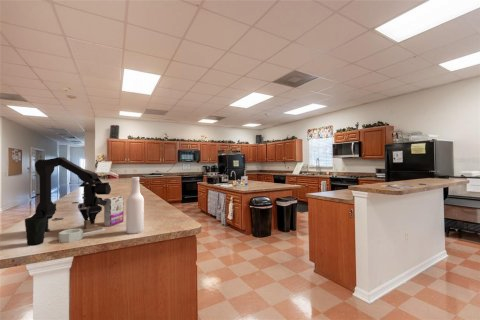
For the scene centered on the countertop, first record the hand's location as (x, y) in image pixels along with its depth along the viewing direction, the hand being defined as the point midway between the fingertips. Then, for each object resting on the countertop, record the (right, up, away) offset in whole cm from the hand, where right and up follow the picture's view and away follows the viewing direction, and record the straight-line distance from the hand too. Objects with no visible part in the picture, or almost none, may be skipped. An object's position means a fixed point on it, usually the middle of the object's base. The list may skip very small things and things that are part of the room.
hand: (89, 222), depth 126 cm
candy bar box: (+6, -5, +15) cm, 16 cm away
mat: (0, -5, 0) cm, 4 cm away
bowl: (+1, -4, -15) cm, 16 cm away
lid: (0, -4, 0) cm, 4 cm away
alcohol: (+27, -5, -2) cm, 27 cm away
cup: (-11, -4, -21) cm, 24 cm away
